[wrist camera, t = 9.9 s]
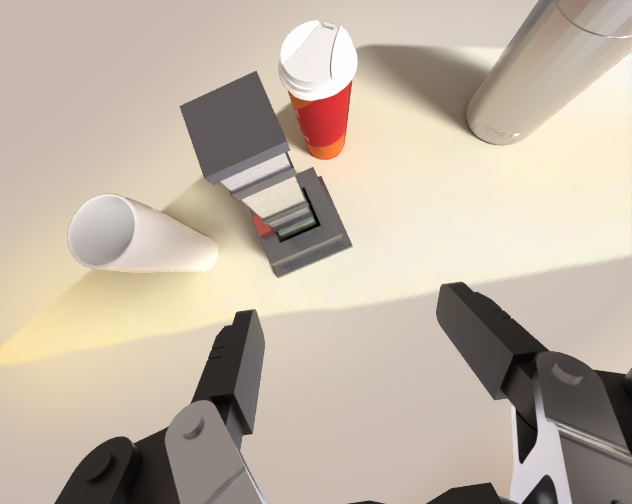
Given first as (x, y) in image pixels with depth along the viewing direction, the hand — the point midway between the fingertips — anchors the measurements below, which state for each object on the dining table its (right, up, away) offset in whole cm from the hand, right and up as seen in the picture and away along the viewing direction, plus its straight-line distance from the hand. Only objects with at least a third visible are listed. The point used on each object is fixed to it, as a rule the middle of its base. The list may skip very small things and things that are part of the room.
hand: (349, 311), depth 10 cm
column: (-4, +7, +19) cm, 20 cm away
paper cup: (0, +19, +25) cm, 31 cm away
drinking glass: (-18, +2, +25) cm, 31 cm away
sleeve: (-4, +6, +23) cm, 25 cm away
